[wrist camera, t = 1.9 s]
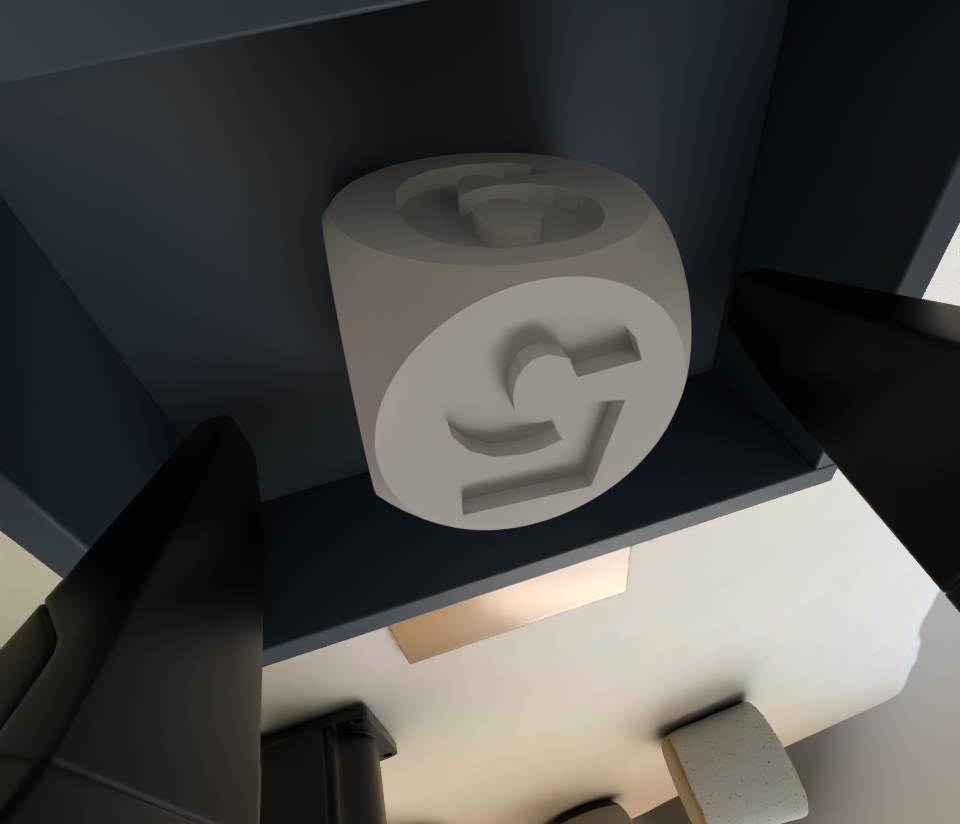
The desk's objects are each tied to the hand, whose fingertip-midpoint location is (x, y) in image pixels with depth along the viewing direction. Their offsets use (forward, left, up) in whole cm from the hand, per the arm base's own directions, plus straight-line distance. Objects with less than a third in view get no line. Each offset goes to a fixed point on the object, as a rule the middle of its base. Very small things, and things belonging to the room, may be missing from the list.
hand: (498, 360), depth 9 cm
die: (0, 0, -3) cm, 3 cm away
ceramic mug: (-46, -14, -4) cm, 48 cm away
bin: (0, 0, -4) cm, 4 cm away
